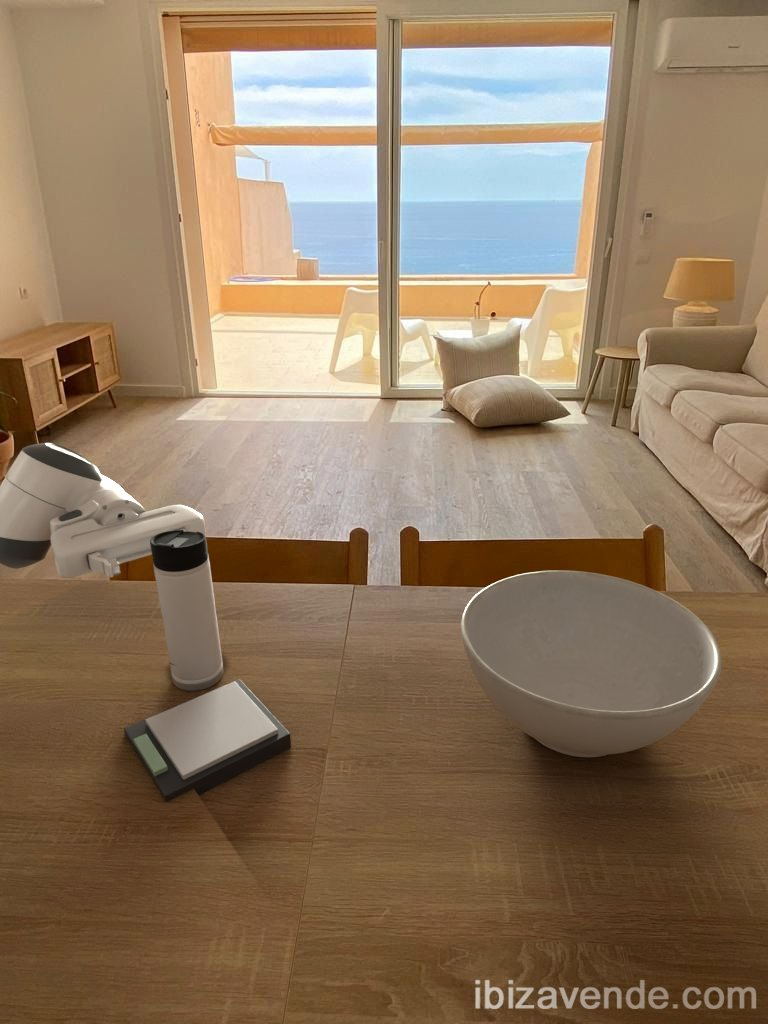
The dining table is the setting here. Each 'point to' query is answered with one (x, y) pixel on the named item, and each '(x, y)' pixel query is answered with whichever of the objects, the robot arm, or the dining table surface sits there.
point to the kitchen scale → (207, 740)
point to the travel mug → (187, 608)
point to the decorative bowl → (589, 659)
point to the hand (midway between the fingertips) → (150, 560)
